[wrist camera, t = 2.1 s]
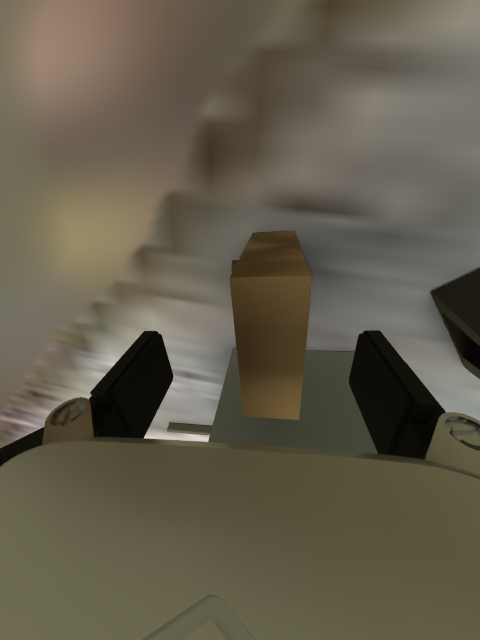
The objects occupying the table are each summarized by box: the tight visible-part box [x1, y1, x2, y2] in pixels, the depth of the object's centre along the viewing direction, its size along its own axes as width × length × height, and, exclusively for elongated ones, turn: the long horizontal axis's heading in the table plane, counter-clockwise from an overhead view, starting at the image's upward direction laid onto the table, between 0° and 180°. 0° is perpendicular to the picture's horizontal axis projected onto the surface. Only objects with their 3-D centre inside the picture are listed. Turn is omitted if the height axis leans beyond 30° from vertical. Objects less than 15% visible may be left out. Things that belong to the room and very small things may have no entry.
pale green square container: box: [167, 349, 378, 454], centre depth 22 cm, size 22×18×13 cm
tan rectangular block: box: [230, 231, 312, 420], centre depth 15 cm, size 4×8×10 cm, turn 4°
